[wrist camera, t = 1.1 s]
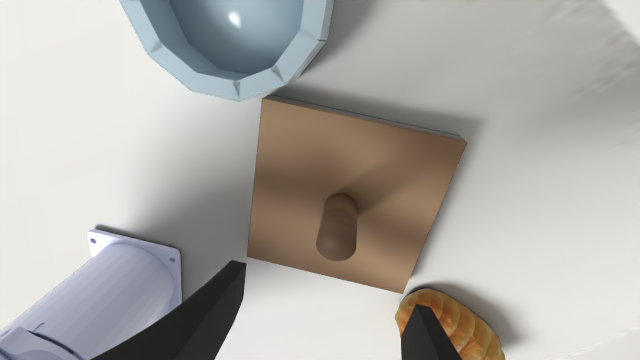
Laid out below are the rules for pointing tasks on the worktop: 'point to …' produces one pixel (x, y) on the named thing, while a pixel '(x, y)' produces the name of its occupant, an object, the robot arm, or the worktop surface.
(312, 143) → the lid
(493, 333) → the pastry
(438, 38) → the worktop surface
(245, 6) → the bowl
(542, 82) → the worktop surface
